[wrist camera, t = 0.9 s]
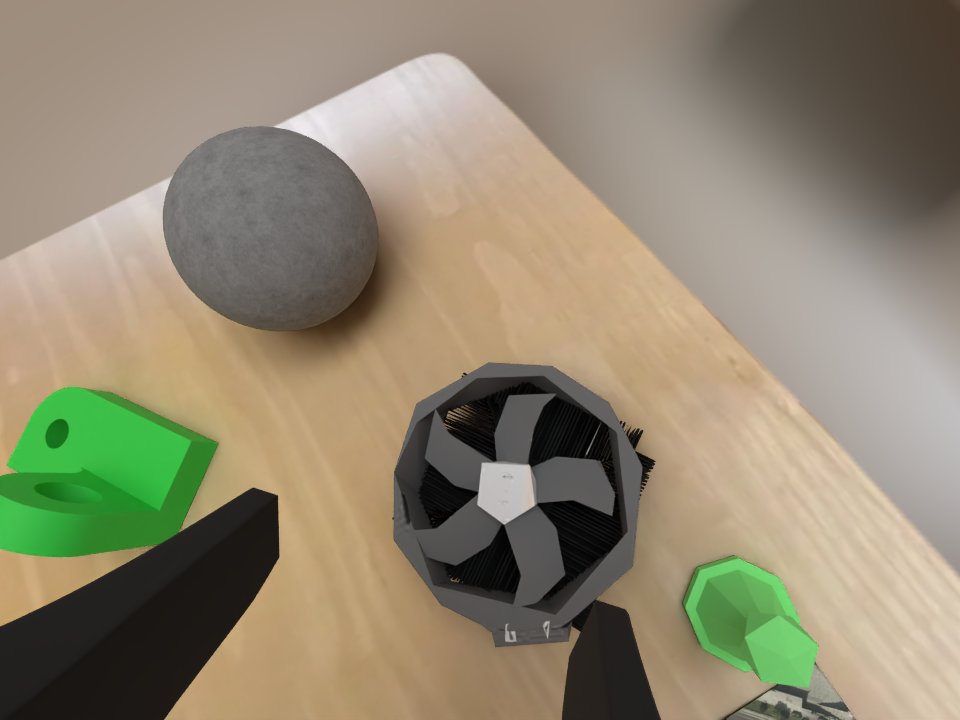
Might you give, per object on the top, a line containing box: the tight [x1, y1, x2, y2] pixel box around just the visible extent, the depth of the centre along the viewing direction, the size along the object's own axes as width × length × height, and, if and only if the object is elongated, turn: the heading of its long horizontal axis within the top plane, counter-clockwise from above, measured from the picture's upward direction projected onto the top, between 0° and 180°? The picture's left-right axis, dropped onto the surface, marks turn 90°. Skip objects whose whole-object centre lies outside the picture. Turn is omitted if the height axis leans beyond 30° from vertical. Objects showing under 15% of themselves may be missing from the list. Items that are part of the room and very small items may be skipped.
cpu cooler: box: [392, 363, 656, 647], centre depth 21 cm, size 10×6×10 cm
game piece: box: [683, 556, 819, 688], centre depth 18 cm, size 4×4×6 cm
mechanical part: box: [0, 387, 218, 557], centre depth 26 cm, size 12×6×8 cm, turn 69°
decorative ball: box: [163, 126, 378, 331], centre depth 25 cm, size 10×10×10 cm
